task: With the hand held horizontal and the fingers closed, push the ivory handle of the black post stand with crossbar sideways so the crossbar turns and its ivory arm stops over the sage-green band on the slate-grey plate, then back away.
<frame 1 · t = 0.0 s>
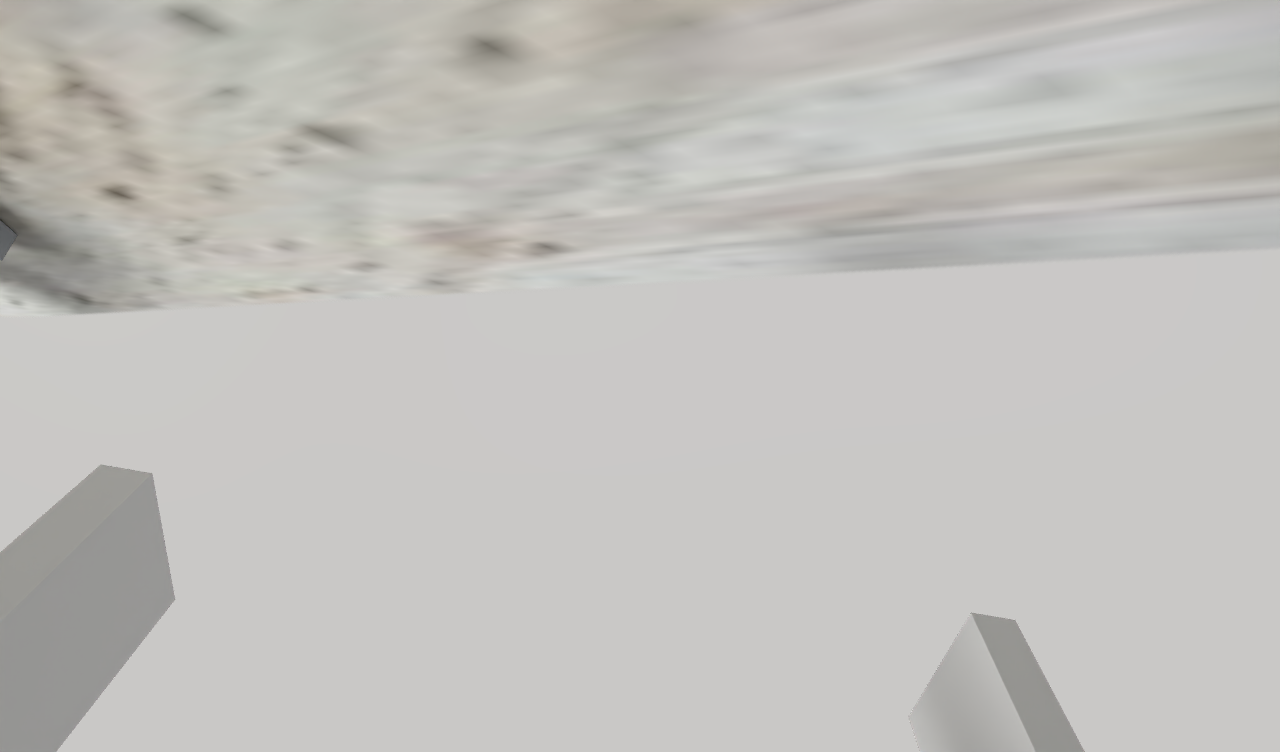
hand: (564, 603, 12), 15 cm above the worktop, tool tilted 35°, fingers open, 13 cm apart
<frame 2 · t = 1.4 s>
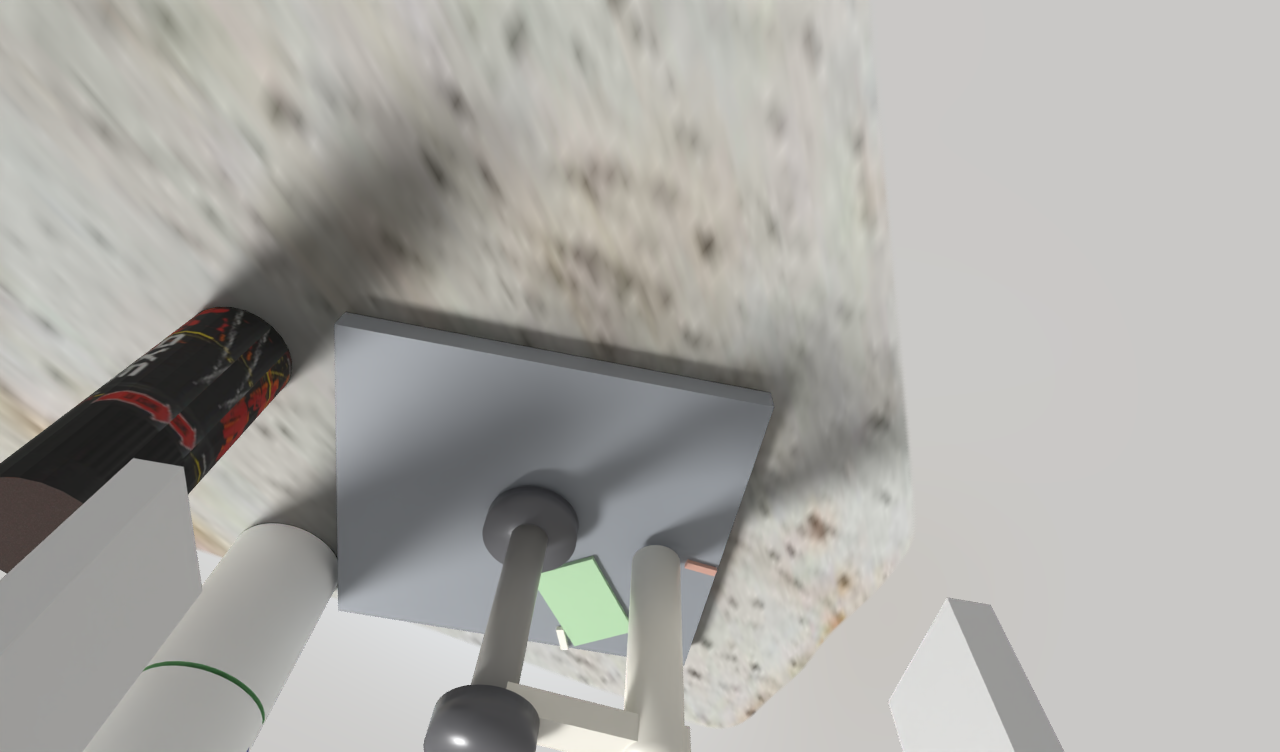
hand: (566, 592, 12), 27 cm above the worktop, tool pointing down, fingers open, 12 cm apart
plate: (537, 503, 46), on the worktop
deodorant: (240, 352, 41), on the worktop
post stand with crossbar: (572, 634, 38), point 9 cm above the worktop, hinge at -8.0°
cylindrical container: (288, 561, 49), on the worktop
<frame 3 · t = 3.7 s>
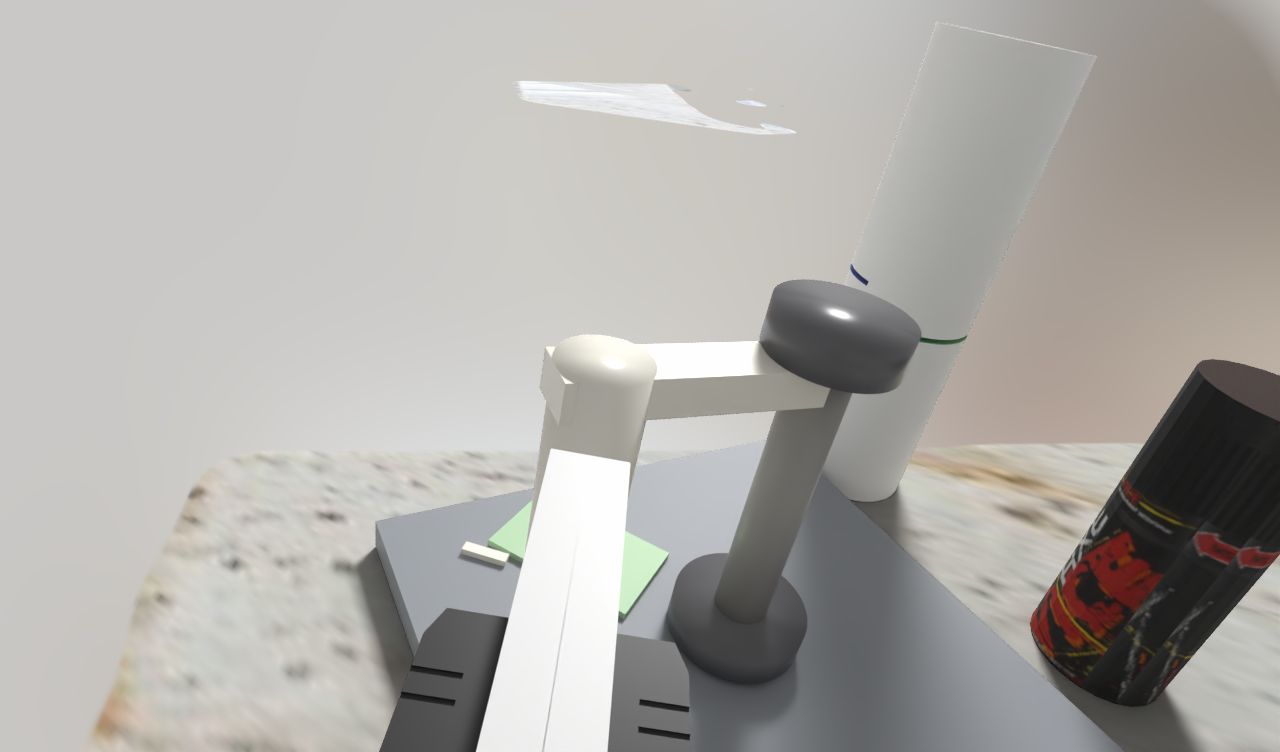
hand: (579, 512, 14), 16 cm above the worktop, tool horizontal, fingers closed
plate: (722, 653, 31), on the worktop
deodorant: (1091, 654, 36), on the worktop
post stand with crossbar: (702, 499, 25), point 9 cm above the worktop, hinge at -8.0°
cylindrical container: (840, 466, 46), on the worktop
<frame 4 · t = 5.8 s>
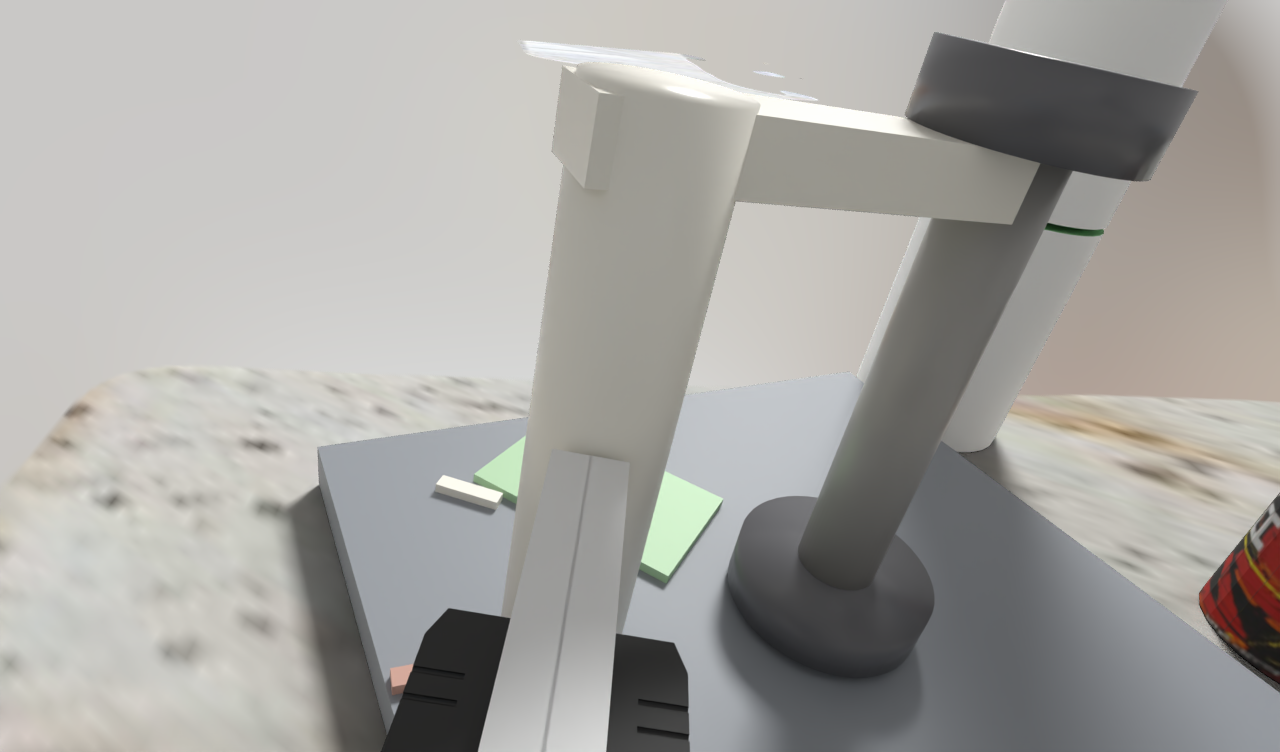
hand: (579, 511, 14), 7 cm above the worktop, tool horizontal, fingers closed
plate: (802, 636, 22), on the worktop
post stand with crossbar: (800, 386, 16), point 9 cm above the worktop, hinge at -9.0°, touching gripper
cylindrical container: (920, 412, 37), on the worktop
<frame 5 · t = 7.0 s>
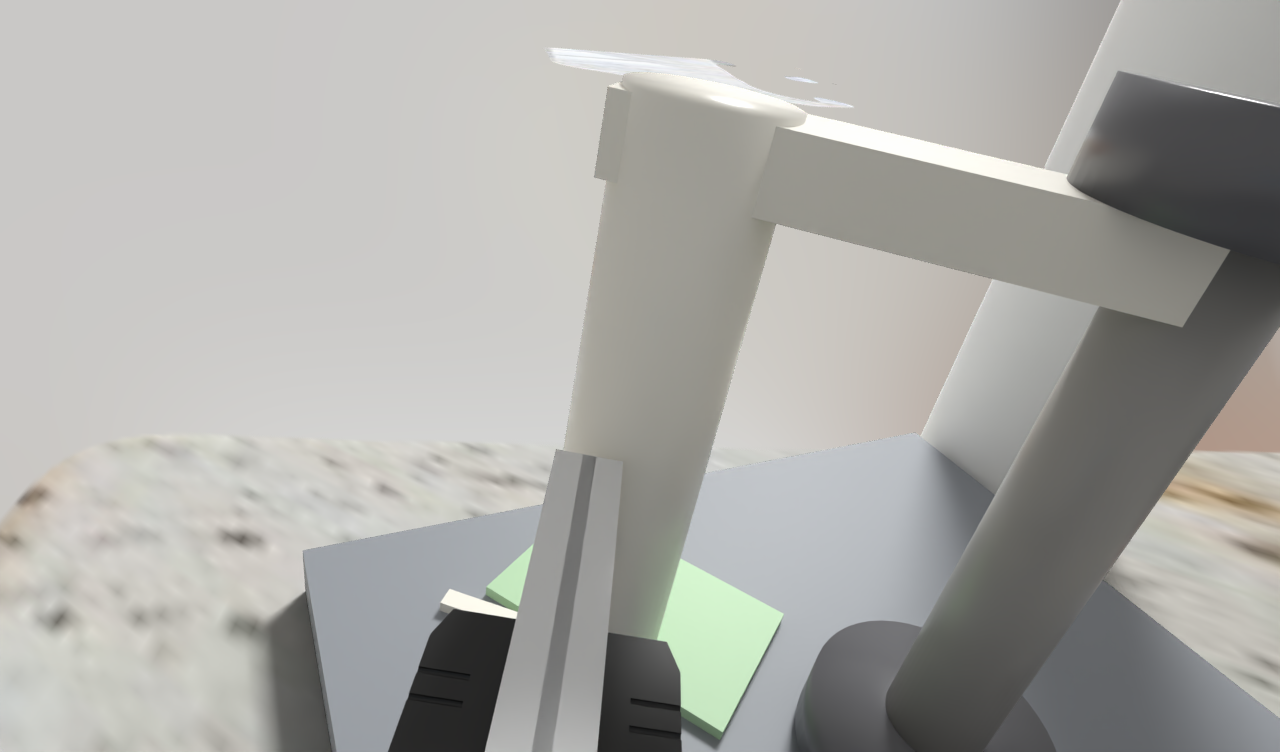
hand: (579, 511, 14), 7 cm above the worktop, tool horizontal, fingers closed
post stand with crossbar: (877, 468, 14), point 9 cm above the worktop, hinge at -42.1°, touching gripper
cylindrical container: (995, 477, 32), on the worktop
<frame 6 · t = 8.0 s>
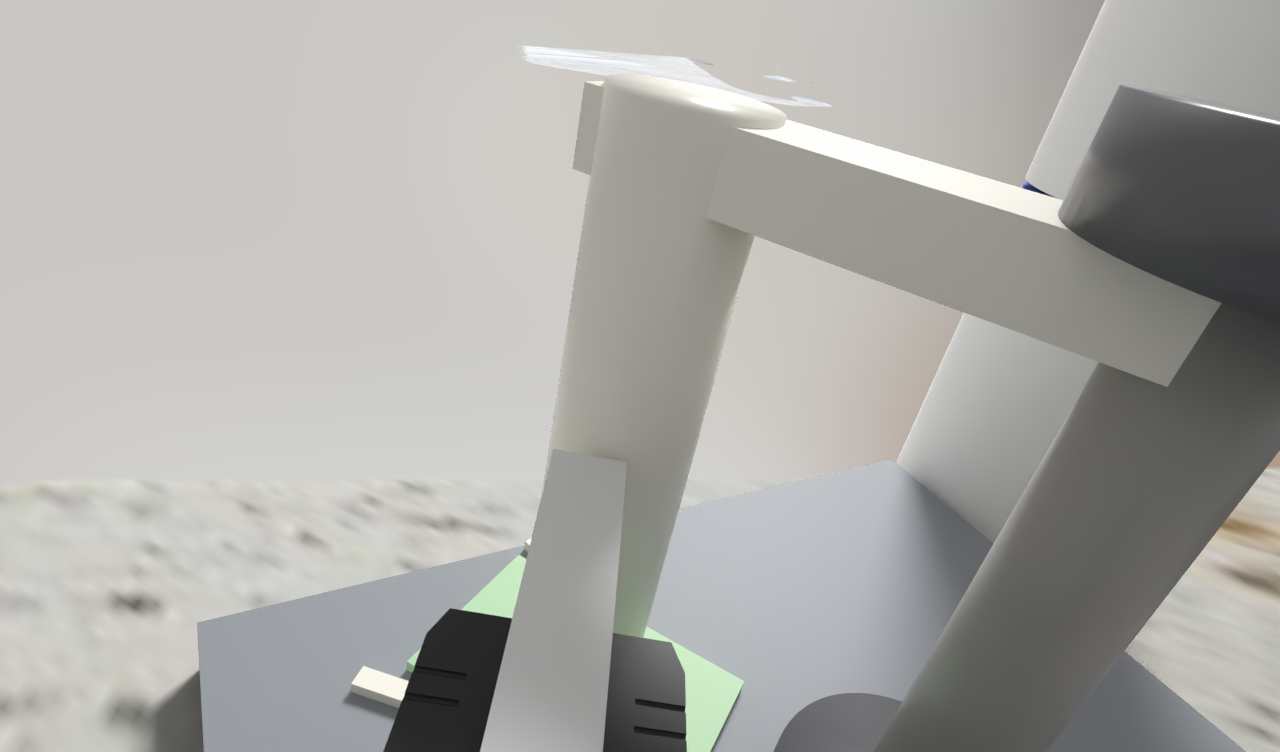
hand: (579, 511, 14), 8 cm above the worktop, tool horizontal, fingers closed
post stand with crossbar: (848, 509, 13), point 9 cm above the worktop, hinge at -61.4°, touching gripper
cylindrical container: (975, 504, 31), on the worktop
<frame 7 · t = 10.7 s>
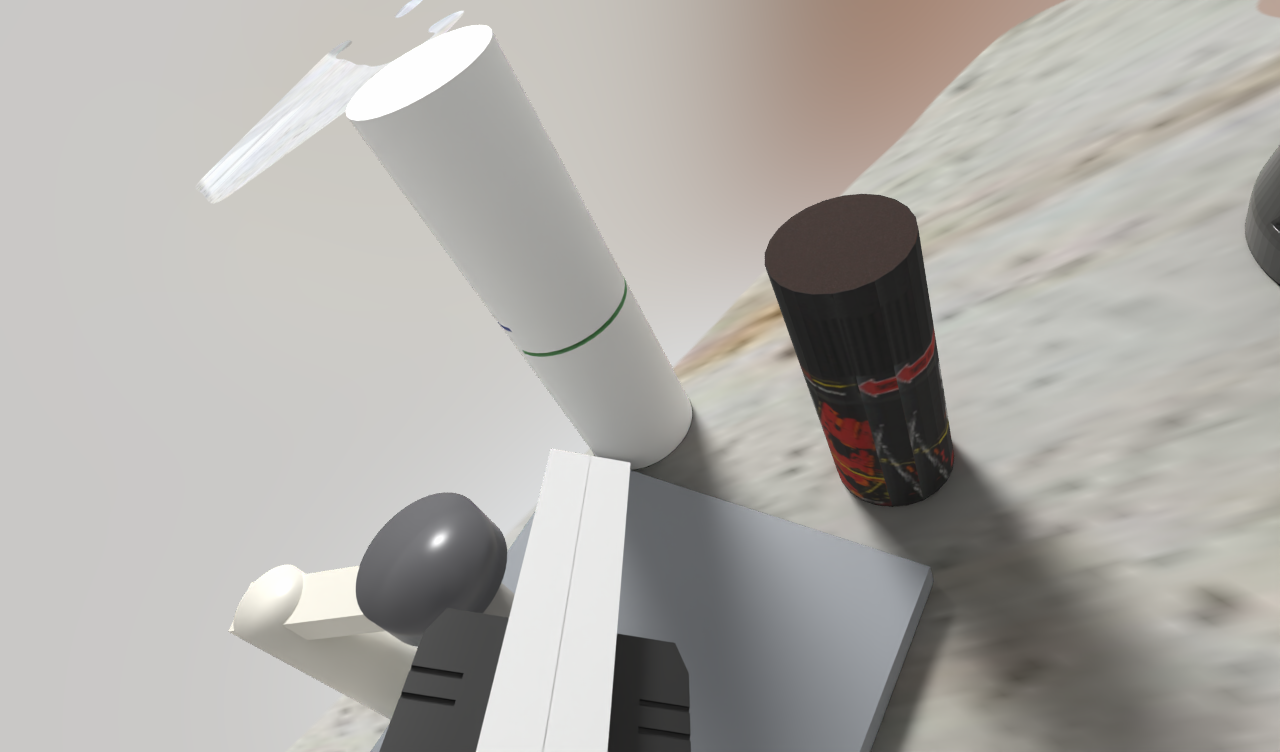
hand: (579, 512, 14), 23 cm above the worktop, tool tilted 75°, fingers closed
plate: (619, 720, 35), on the worktop
deodorant: (893, 460, 39), on the worktop
post stand with crossbar: (456, 651, 30), point 9 cm above the worktop, hinge at -61.5°
cylindrical container: (641, 426, 47), on the worktop
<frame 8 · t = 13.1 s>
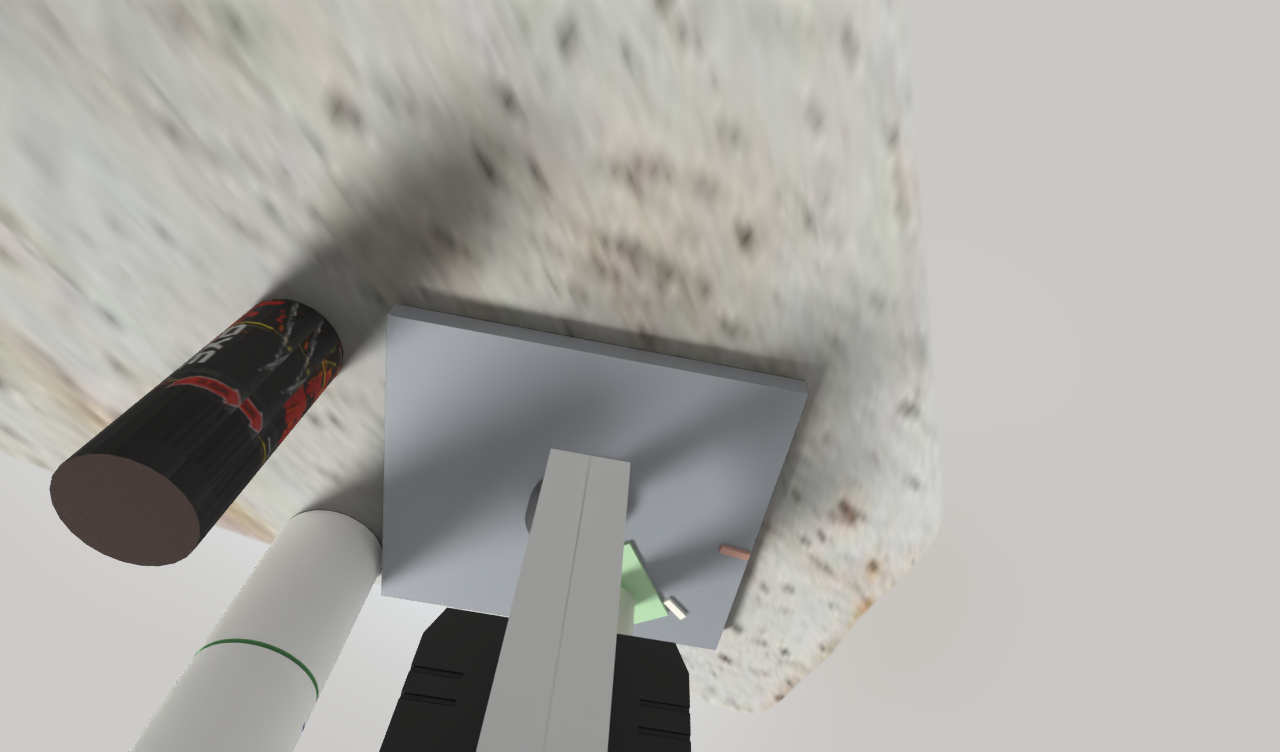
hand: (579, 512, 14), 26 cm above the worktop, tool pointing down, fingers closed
plate: (576, 490, 47), on the worktop
deodorant: (294, 343, 43), on the worktop
post stand with crossbar: (577, 638, 41), point 9 cm above the worktop, hinge at -61.5°
cylindrical container: (333, 547, 51), on the worktop
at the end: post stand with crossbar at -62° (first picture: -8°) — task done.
